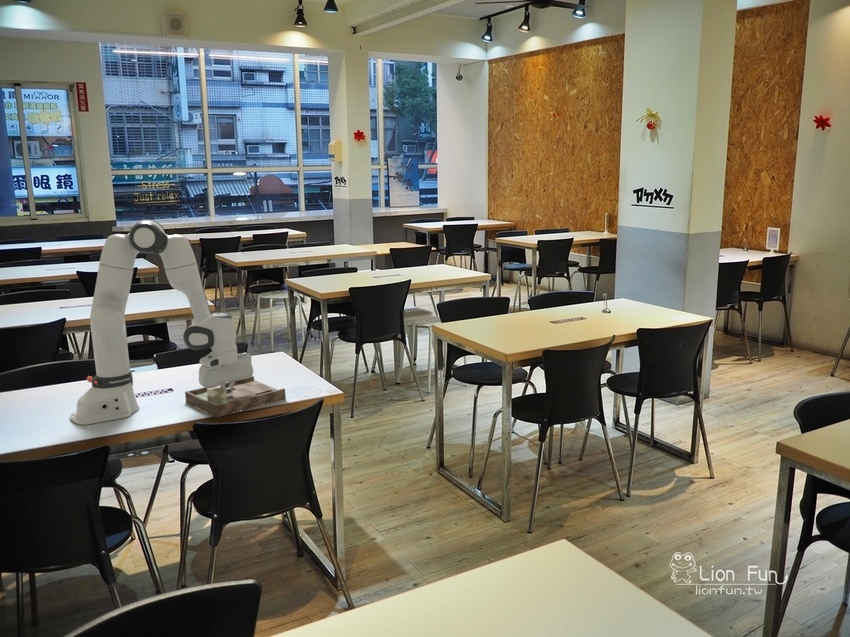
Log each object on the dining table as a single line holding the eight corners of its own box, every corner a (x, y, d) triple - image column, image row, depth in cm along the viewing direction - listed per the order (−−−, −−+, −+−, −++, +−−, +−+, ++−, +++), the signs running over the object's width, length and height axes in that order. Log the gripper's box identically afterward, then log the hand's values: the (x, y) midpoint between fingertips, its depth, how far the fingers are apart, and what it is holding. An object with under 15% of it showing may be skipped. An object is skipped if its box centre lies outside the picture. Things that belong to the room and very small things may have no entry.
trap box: (216, 417, 252) (215, 406, 251) (186, 402, 269) (185, 391, 269) (285, 399, 270) (284, 388, 270) (253, 385, 288) (252, 375, 287)
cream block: (214, 402, 261) (213, 391, 260) (207, 399, 264) (206, 388, 264) (226, 398, 264) (225, 388, 263) (220, 395, 268) (219, 385, 267)
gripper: (246, 350, 273) (249, 385, 276) (195, 360, 260) (198, 397, 263) (254, 352, 269) (257, 388, 272) (203, 363, 255) (206, 401, 258)
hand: (228, 393), depth 267 cm, fingers closed
